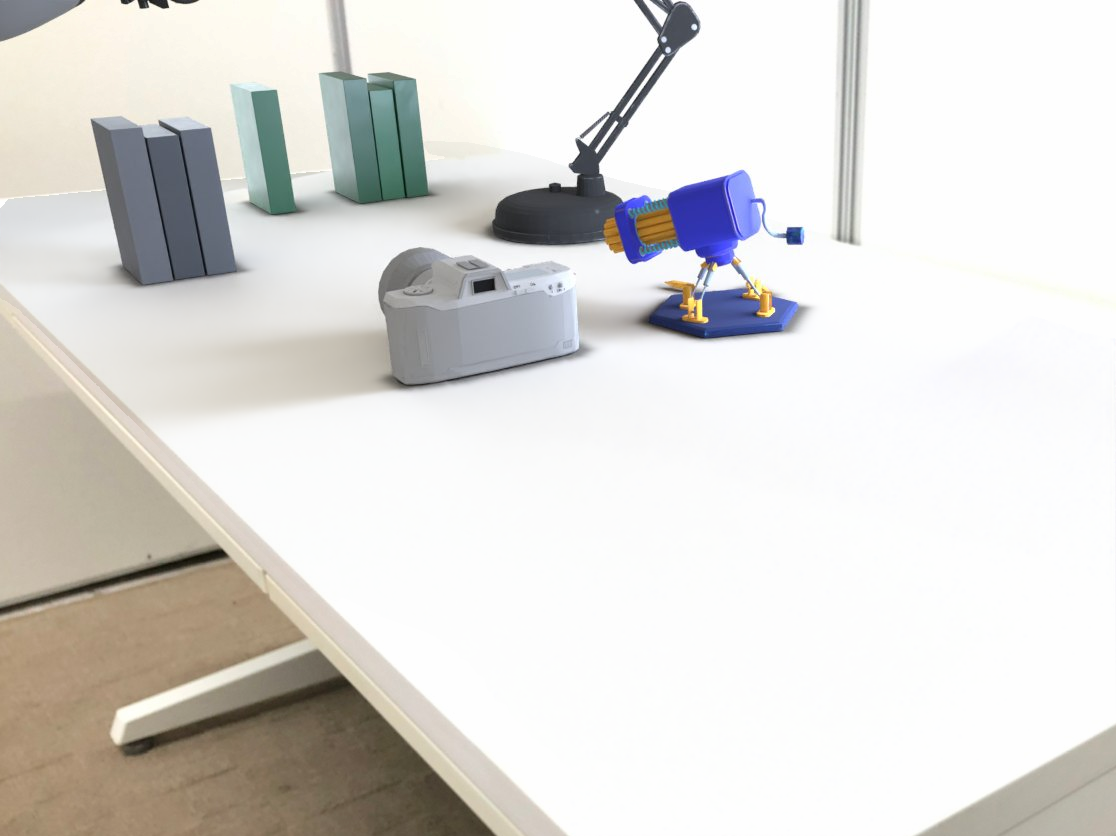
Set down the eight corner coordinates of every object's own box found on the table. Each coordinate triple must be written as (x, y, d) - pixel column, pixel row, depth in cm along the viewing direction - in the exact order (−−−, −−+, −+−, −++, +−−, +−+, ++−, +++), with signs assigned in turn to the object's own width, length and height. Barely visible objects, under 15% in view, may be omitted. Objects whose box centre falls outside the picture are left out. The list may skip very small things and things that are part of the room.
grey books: (122, 266, 134) (90, 118, 128) (213, 253, 139) (186, 110, 132) (142, 285, 128) (109, 130, 121) (237, 271, 132) (210, 121, 126)
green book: (249, 202, 163) (228, 83, 157) (273, 199, 164) (254, 81, 158) (271, 214, 156) (250, 91, 150) (296, 211, 158) (277, 89, 151)
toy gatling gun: (701, 276, 129) (698, 144, 124) (842, 310, 118) (846, 167, 112) (590, 306, 120) (581, 165, 114) (732, 347, 109) (731, 193, 103)
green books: (335, 191, 168) (318, 72, 162) (402, 183, 173) (388, 67, 166) (359, 203, 162) (342, 80, 155) (429, 194, 166) (415, 74, 160)
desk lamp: (394, 238, 145) (334, -233, 125) (546, 197, 164) (516, -217, 144) (564, 266, 133) (528, -250, 113) (706, 218, 152) (698, -229, 132)
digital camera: (535, 359, 118) (550, 247, 115) (587, 400, 107) (605, 278, 103) (346, 342, 111) (357, 223, 107) (380, 385, 99) (392, 252, 96)
